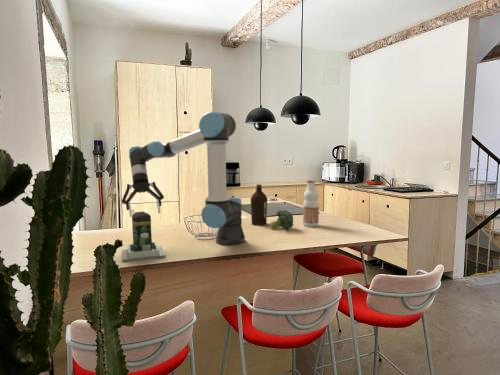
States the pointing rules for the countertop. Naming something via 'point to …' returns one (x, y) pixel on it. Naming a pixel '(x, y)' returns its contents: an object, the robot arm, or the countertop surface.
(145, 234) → the coffee jar
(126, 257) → the jar dock
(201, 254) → the countertop surface
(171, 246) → the countertop surface
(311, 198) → the fruit juice
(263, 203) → the olive oil
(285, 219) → the vegetable
